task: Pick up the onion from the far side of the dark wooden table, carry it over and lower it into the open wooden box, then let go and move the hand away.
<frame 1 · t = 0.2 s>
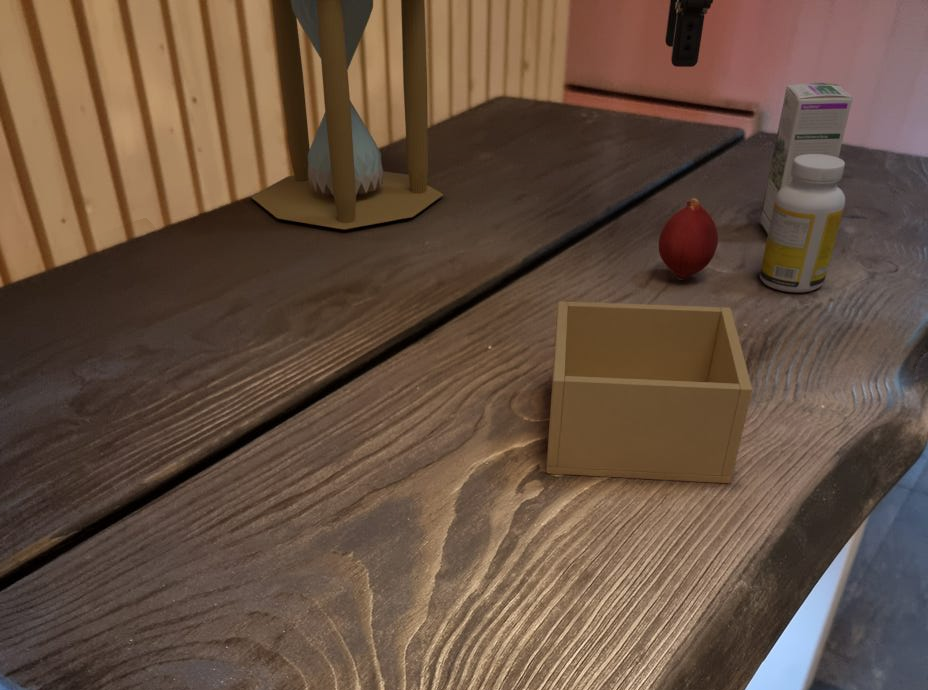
hand: (679, 55, 82), 20 cm above the table, tool pointing down, fingers open, 8 cm apart
pill bottle: (789, 284, 96), on the table
syrup box: (787, 233, 106), on the table
hourglass: (347, 200, 116), on the table
open wooden box: (634, 432, 74), on the table
onion: (681, 280, 97), on the table
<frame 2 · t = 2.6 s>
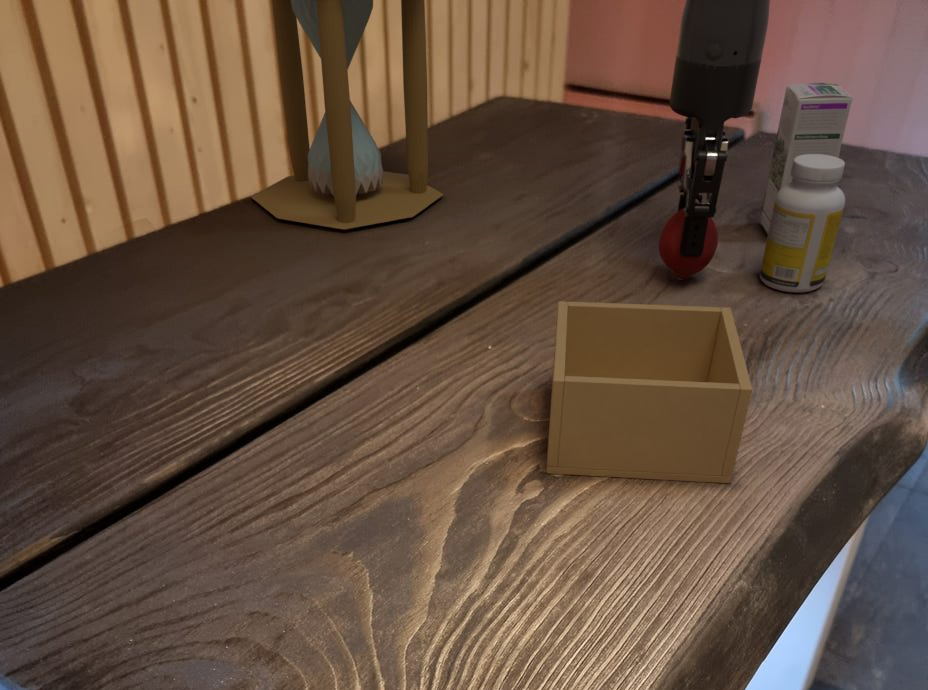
hand: (687, 243, 94), 4 cm above the table, tool pointing down, fingers closed on onion, 6 cm apart
onion: (681, 280, 97), on the table, touching gripper
everything else where it was.
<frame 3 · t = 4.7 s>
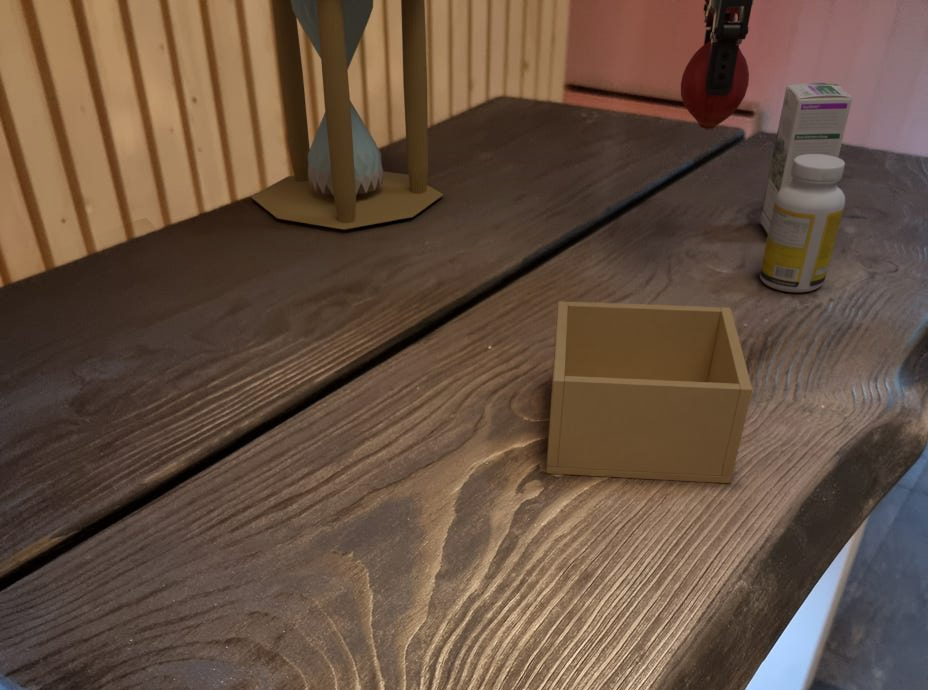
hand: (714, 84, 83), 18 cm above the table, tool pointing down, fingers closed on onion, 6 cm apart
onion: (707, 131, 85), point 14 cm above the table, touching gripper
everything else where it was.
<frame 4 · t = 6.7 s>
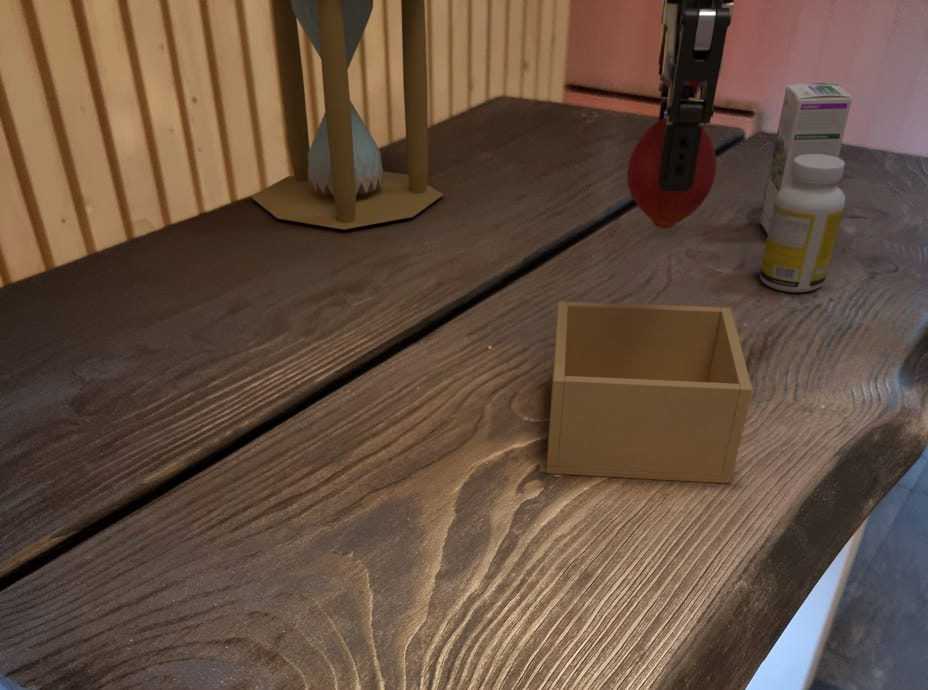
hand: (672, 173, 63), 19 cm above the table, tool pointing down, fingers closed on onion, 6 cm apart
onion: (662, 231, 65), point 15 cm above the table, touching gripper
everything else where it was.
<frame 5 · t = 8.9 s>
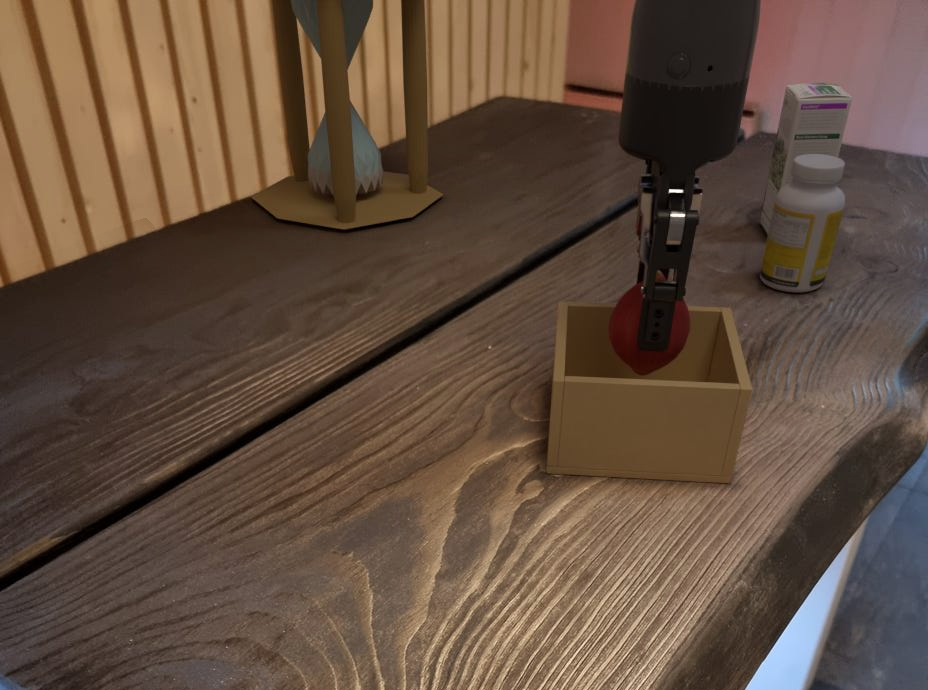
hand: (649, 328, 68), 9 cm above the table, tool pointing down, fingers closed on onion, 6 cm apart
onion: (642, 376, 70), point 5 cm above the table, touching gripper
everything else where it was.
when the fingers open (4 cm above the table, at t = 10.8 s): onion stays where it is, resting on open wooden box.
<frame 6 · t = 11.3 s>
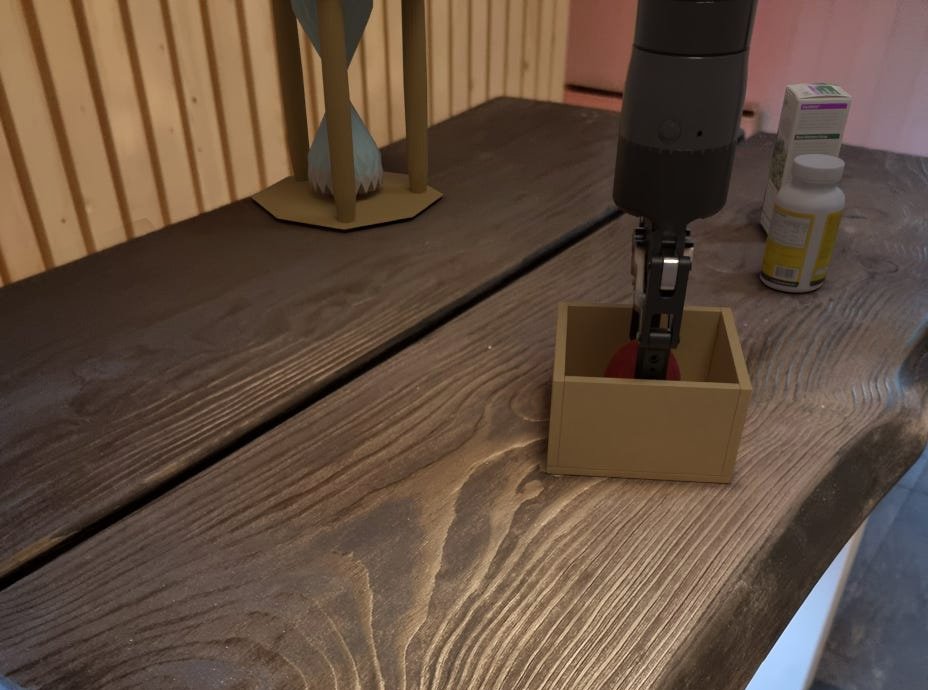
hand: (644, 365, 70), 6 cm above the table, tool pointing down, fingers open, 8 cm apart
onion: (635, 427, 73), resting on open wooden box
everything else where it was.
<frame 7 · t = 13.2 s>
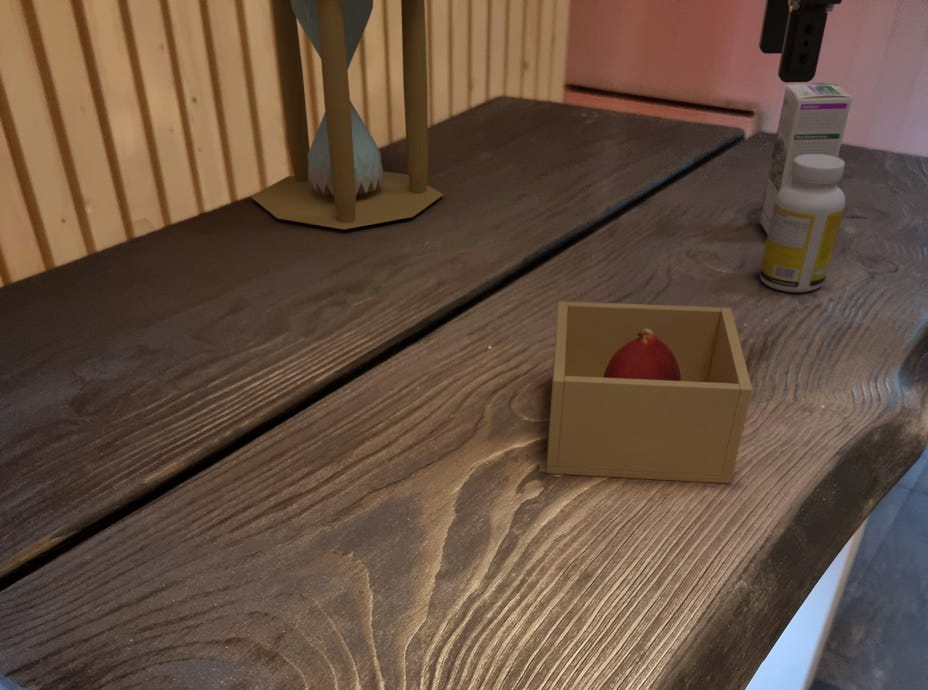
hand: (784, 66, 62), 24 cm above the table, tool pointing down, fingers open, 8 cm apart
nothing on the table moved.
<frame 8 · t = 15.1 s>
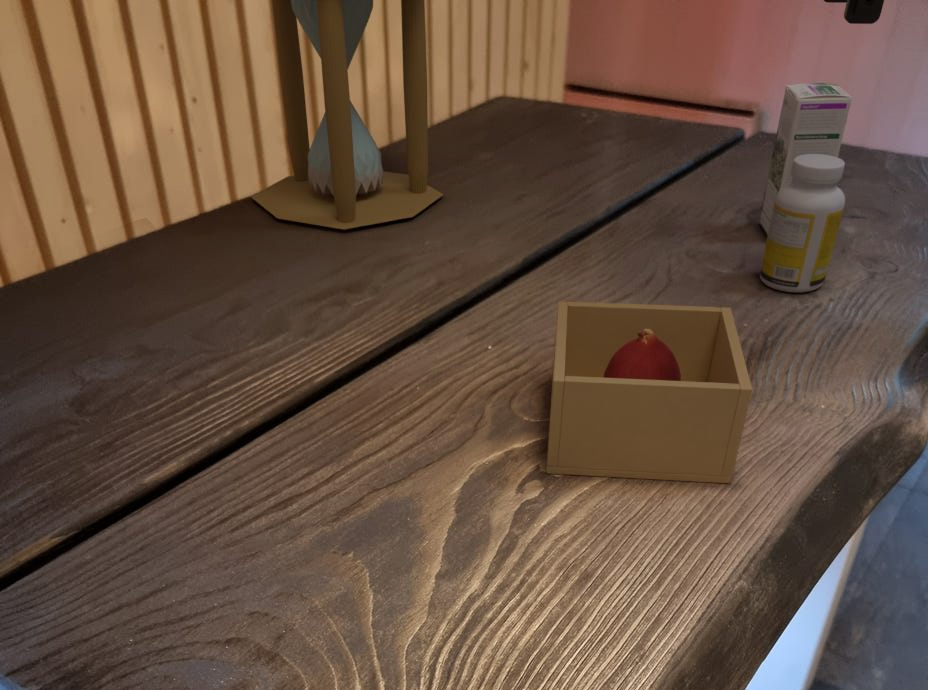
hand: (847, 11, 65), 26 cm above the table, tool pointing down, fingers open, 8 cm apart
nothing on the table moved.
at the end: onion inside the target area in the open wooden box (0.0 cm from its centre), point 0.4 cm above the open wooden box's base; the gripper is holding nothing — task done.
